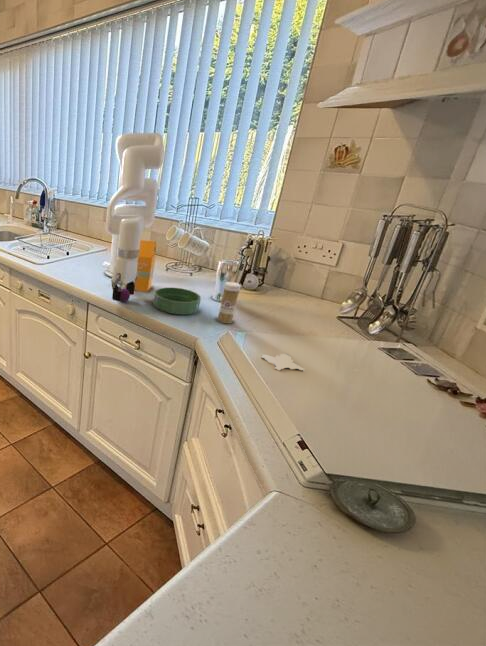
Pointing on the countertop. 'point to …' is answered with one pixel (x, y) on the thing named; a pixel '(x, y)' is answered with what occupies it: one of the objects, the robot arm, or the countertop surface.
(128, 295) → the ball
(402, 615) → the countertop surface
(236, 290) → the sprinkles bottle
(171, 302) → the bowl
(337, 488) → the lid
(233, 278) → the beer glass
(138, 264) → the orange juice
